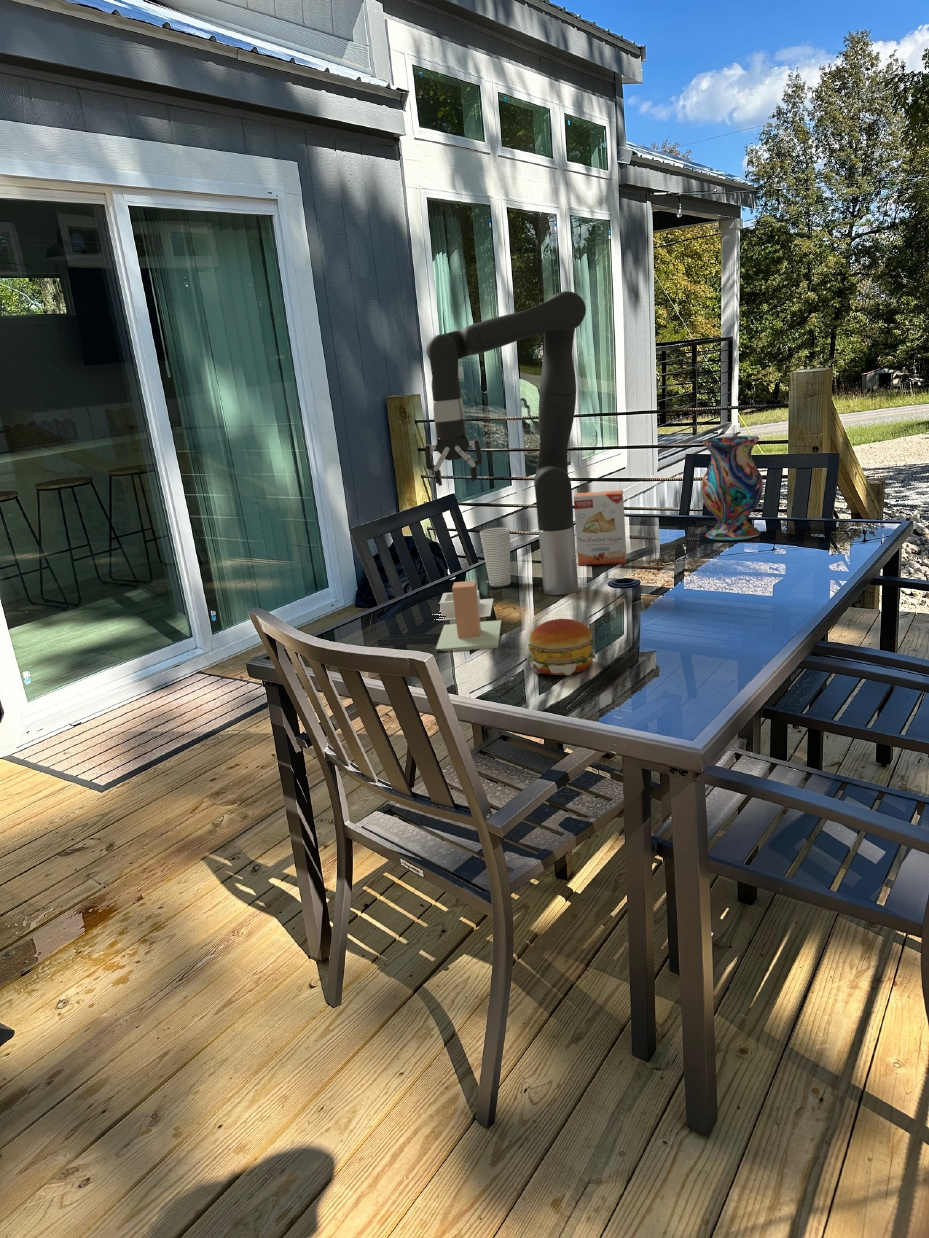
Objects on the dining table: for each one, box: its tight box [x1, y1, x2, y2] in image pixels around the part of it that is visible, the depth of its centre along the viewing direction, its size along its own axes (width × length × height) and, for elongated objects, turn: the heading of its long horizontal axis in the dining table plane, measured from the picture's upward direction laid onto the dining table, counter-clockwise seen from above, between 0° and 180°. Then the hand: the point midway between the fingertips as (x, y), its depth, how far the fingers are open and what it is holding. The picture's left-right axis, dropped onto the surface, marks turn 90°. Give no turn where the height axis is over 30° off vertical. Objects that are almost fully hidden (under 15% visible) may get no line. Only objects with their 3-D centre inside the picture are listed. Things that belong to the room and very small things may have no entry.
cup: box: [479, 526, 511, 588], centre depth 242 cm, size 8×8×16 cm
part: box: [451, 580, 481, 638], centre depth 198 cm, size 5×5×12 cm
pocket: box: [432, 589, 494, 621], centre depth 221 cm, size 16×16×4 cm
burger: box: [527, 618, 597, 676], centre depth 173 cm, size 14×14×10 cm
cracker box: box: [573, 489, 627, 566], centre depth 252 cm, size 14×6×21 cm, turn 76°
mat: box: [435, 619, 502, 651], centre depth 200 cm, size 14×18×1 cm
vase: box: [700, 435, 764, 541], centre depth 266 cm, size 18×18×30 cm
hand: (456, 483), depth 218 cm, fingers open, 8 cm apart
